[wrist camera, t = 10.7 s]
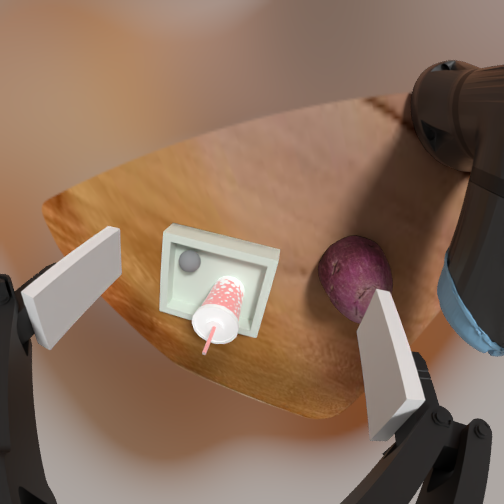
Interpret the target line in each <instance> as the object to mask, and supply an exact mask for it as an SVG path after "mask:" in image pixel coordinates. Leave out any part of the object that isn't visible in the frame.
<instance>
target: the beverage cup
mask: <svg viewBox="0 0 504 504" xmlns="http://www.w3.org/2000/svg"><path fill="white" fill-rule="evenodd" d="M243 296H244V286H243V284H242V283H241V281H239V280H238V279H237V278H235V277H231V276H223V277H221V278H219V279H218V280H217V281H216V283H215V284H214V286H213V288H212V289H211V291H210V292H209V294H208V296H207V297H206V299H205V301H204V302H203V304H202V305H201V307H199V308H198V309H197V311H196V312H195V314H194V315H193V318H192V325H193V328H194V330H195V332H196V333H197V334H198V335H199V336H200V337H201V338H203V339H204V340H206V341H207V342H206V344H205V347H204V349H203V352H202V354H203V355H206V353H207V350H208V348H209V345H210V343H215V344H225V343H228V342H231V341H232V340H233V339H234V338H235V337H236V336H237V333H238V330H239V322H238V321H239V316H240V311H241V306H242V301H243Z"/></svg>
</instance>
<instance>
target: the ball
mask: <svg viewBox="0 0 504 504" xmlns="http://www.w3.org/2000/svg"><path fill="white" fill-rule="evenodd" d="M200 264H201V258H200V256H199V254H198V253H197V252H195V251H193V250H186V251H184V252H183V253H182V254H181V255H180V257H179V266H180V268H181V269H182V270H183V271H185V272H189V273H190V272H194V271H196V270H197V269H198V268H199V267H200Z"/></svg>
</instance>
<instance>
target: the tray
mask: <svg viewBox="0 0 504 504" xmlns="http://www.w3.org/2000/svg"><path fill="white" fill-rule="evenodd" d="M186 250H193V251H195V252H197V253H198V254H199V256H200V258H201V264H200V267H199V268H198V269H197V270H196V271H194V272H190V273H189V272H185V271H183V270H182V269H181V268H180V266H179V257H180V255H181V254H182V253H183V252H184V251H186ZM279 255H280V249H276V248H272V247H268V246H264V245H260V244H256V243H252V242H248V241H244V240H240V239H236V238H232V237H228V236H224V235H220V234H216V233H212V232H208V231H204V230H200V229H196V228H192V227H188V226H184V225H180V224H176V223H172V224H171V225H170V226H169V227H168V228H167V229H166V230H165V231H164V232H163V245H162V261H161V281H160V311H162V312H166V313H169V314H172V315H175V316H178V317H182V318H185V319H188V320H192V318H193V315H194V314H195V312H196V311H197V309H198V308H199V307H201V305H202V304H203V302H204V301H205V299H206V297H207V296H208V294H209V292H210V291H211V289H212V288H213V286H214V284H215V283H216V281H217V280H218V279H219V278H221V277H223V276H231V277H235V278H237V279H238V280H239V281H241V283H242V284H243V286H244V296H243V301H242V306H241V311H240V316H239V321H238V322H239V330H238V334H242V335H246V336H250V337H254V338H256V337H257V334H258V331H259V327H260V324H261V321H262V317H263V314H264V310H265V307H266V303H267V300H268V296H269V293H270V289H271V286H272V282H273V279H274V275H275V272H276V268H277V265H278V261H279Z"/></svg>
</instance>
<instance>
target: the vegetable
mask: <svg viewBox="0 0 504 504" xmlns="http://www.w3.org/2000/svg"><path fill="white" fill-rule="evenodd" d="M318 274H319V278H320V281H321V283H322V286H323V288H324V289H325V291H326V293H327V295H328V296H329V298H330V300H331V302H332V303H333V305H334V306H335V307H336V308H337V309H338V310H339V311H340V312H341V313H342V314H343V315H344V316H345V317H347V318H348V319H350V320H351V321H354V322H356V323H361V321H362V319H363V317H364V315H365V313H366V311H367V308H368V306H369V304H370V302H371V299H372V297H373V295H374V293H375V290H376V289H379V290H384V291H388V292H390V294H391V295H392V287H393V282H392V274H391V269H390V266H389V264H388V261H387V259H386V257H385V255H384V253H383V251H382V249H381V248H380V247H379V245H378V244H377V243H375V242H373V241H371V240H369V239H367V238H363V237H360V236H349V237H346V238H343V239H341V240H339V241H337V242H336V243H334V244H332V245H331V246H330V247H329V248H328V249H327V250H326V252H325V254H324V255H323V257H322V259H321V261H320V263H319V266H318Z"/></svg>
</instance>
